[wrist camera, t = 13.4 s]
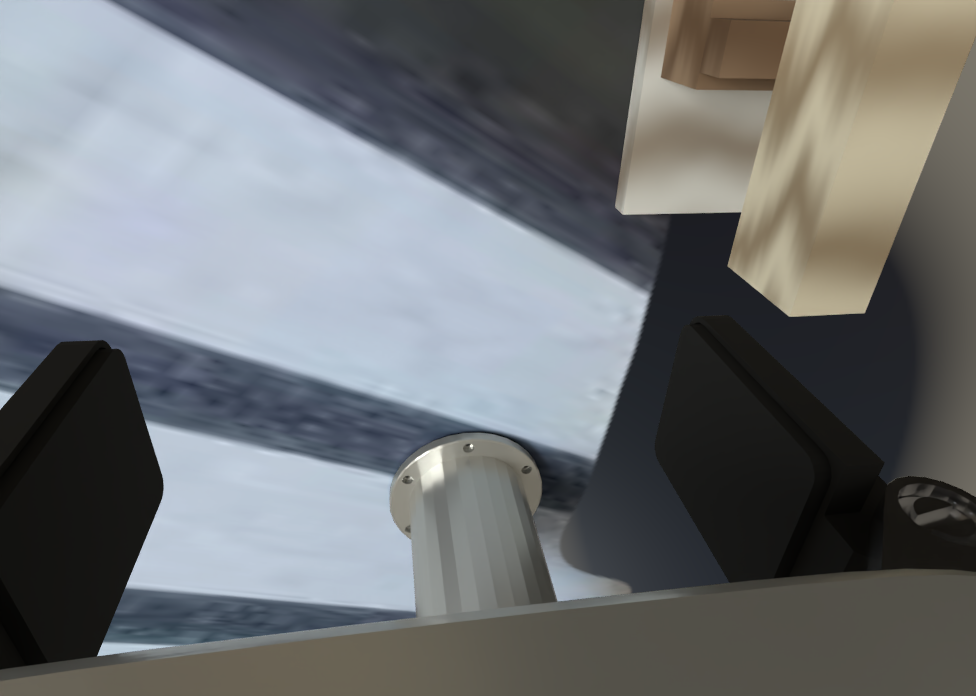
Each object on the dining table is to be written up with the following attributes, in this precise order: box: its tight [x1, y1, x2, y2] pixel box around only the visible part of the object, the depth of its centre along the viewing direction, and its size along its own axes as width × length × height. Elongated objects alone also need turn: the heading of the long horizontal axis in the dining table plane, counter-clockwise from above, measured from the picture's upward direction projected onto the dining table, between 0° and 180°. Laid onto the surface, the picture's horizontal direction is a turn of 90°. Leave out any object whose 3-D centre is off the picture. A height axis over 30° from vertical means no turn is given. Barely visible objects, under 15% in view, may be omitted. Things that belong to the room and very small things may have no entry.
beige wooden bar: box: [728, 0, 976, 317], centre depth 26 cm, size 22×4×6 cm, turn 178°
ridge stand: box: [615, 0, 796, 215], centre depth 32 cm, size 20×12×8 cm, turn 178°
